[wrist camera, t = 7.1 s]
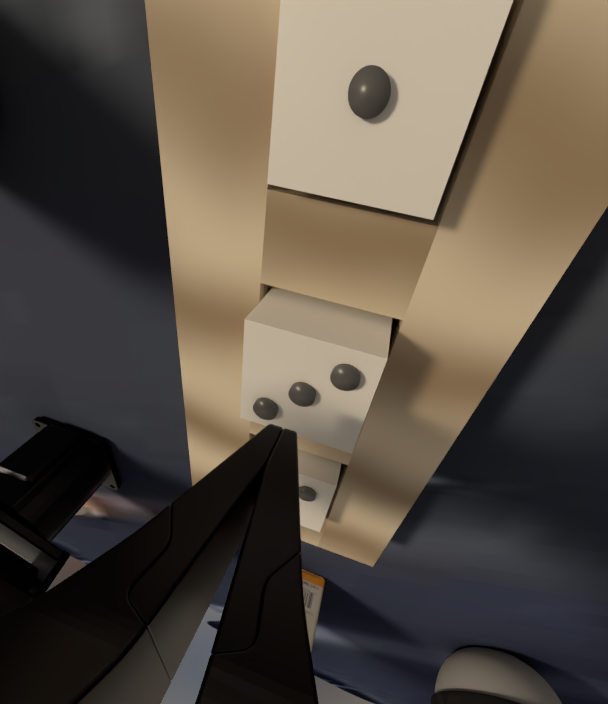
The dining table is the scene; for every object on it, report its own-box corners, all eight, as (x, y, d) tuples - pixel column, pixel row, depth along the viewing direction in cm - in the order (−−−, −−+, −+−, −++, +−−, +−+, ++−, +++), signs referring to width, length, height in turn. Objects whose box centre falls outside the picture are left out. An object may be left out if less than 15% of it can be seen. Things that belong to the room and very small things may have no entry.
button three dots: (362, 399, 14) (351, 458, 12) (267, 371, 15) (237, 421, 12) (393, 312, 12) (387, 363, 9) (277, 282, 12) (241, 322, 10)
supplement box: (308, 608, 33) (259, 830, 22) (263, 589, 33) (195, 798, 23) (329, 577, 28) (278, 843, 18) (276, 556, 28) (196, 802, 18)
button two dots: (331, 483, 20) (318, 536, 17) (262, 460, 20) (241, 507, 18) (347, 436, 17) (335, 490, 15) (268, 411, 18) (244, 458, 15)
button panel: (376, 526, 22) (372, 566, 20) (212, 469, 24) (193, 500, 22) (834, -279, 6) (1076, -513, 4) (188, -286, 7) (100, -449, 5)
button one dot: (428, 199, 11) (433, 221, 8) (298, 172, 11) (264, 185, 9) (495, 6, 8) (534, -54, 5) (321, -17, 9) (282, -79, 6)
